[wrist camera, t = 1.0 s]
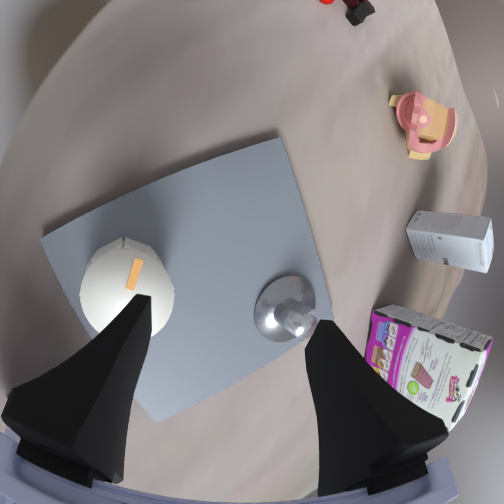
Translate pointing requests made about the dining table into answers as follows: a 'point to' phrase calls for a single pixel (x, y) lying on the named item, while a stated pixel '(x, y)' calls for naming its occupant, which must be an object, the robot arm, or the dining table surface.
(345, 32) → the dining table surface
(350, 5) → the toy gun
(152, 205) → the board
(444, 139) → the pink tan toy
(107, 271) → the knob
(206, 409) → the dining table surface
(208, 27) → the dining table surface
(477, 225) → the skincare box
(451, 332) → the candy bar box
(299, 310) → the grey disc
